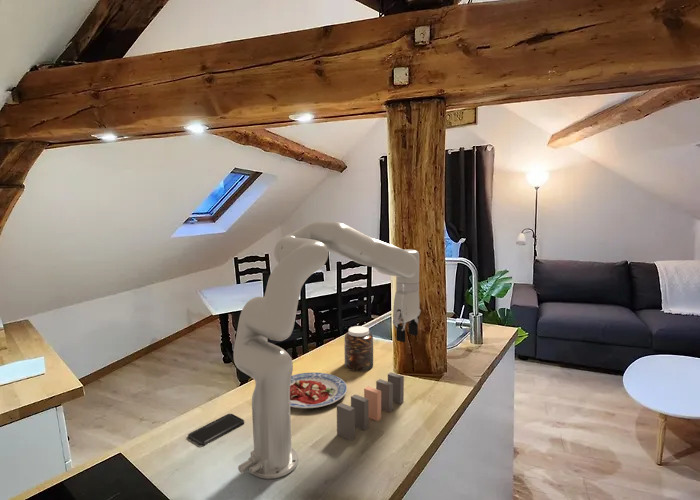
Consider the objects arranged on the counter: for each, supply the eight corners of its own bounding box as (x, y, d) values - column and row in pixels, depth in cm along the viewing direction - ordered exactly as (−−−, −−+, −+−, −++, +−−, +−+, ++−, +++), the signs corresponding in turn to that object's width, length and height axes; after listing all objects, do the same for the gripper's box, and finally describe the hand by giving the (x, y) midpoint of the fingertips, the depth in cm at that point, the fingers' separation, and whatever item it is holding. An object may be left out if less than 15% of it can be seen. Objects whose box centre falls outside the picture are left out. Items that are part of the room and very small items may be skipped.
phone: (245, 420, 129) (202, 444, 118) (246, 424, 129) (202, 448, 118) (229, 412, 134) (186, 434, 122) (230, 416, 134) (186, 438, 123)
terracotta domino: (377, 421, 130) (377, 393, 129) (364, 415, 133) (364, 388, 132) (381, 418, 131) (381, 390, 130) (368, 413, 134) (368, 386, 133)
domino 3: (389, 412, 135) (389, 385, 134) (376, 407, 138) (376, 381, 137) (392, 409, 136) (392, 383, 135) (379, 405, 139) (379, 378, 138)
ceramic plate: (258, 407, 139) (257, 398, 139) (291, 374, 164) (291, 366, 163) (332, 419, 132) (332, 410, 131) (356, 382, 156) (356, 374, 156)
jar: (379, 367, 169) (379, 330, 166) (354, 374, 162) (354, 336, 160) (362, 357, 179) (362, 323, 176) (338, 363, 172) (338, 328, 170)
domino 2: (364, 430, 125) (364, 401, 124) (351, 424, 128) (350, 396, 127) (368, 427, 126) (368, 399, 125) (355, 422, 129) (355, 394, 128)
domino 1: (350, 441, 120) (350, 411, 119) (337, 434, 123) (336, 405, 122) (354, 437, 121) (354, 408, 120) (341, 431, 124) (341, 402, 123)
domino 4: (400, 404, 140) (400, 378, 139) (387, 399, 143) (387, 374, 142) (403, 401, 141) (403, 376, 140) (390, 397, 144) (391, 372, 143)
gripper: (411, 280, 151) (410, 329, 154) (383, 290, 138) (383, 342, 140) (430, 283, 146) (429, 333, 149) (403, 293, 133) (402, 348, 136)
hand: (407, 337), depth 145 cm, fingers open, 7 cm apart
